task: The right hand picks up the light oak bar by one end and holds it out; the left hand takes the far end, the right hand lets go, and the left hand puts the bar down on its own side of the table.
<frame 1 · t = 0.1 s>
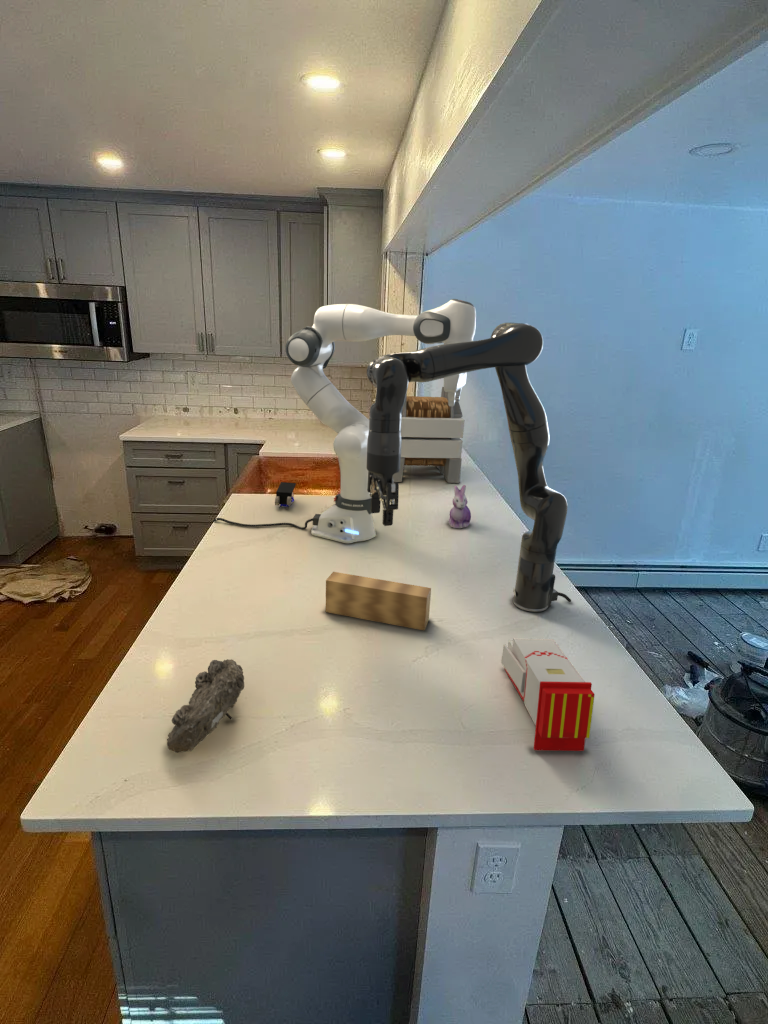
left hand: (453, 403, 174), 48 cm above the counter, tool pointing down, fingers open, 8 cm apart
right hand: (381, 518, 131), 29 cm above the counter, tool pointing down, fingers open, 8 cm apart
toy: (537, 702, 116), on the counter
fossil: (212, 717, 108), on the counter
figurine: (459, 524, 211), on the counter
bar: (376, 616, 146), on the counter
figurine character: (285, 505, 223), on the counter
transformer: (419, 473, 275), on the counter
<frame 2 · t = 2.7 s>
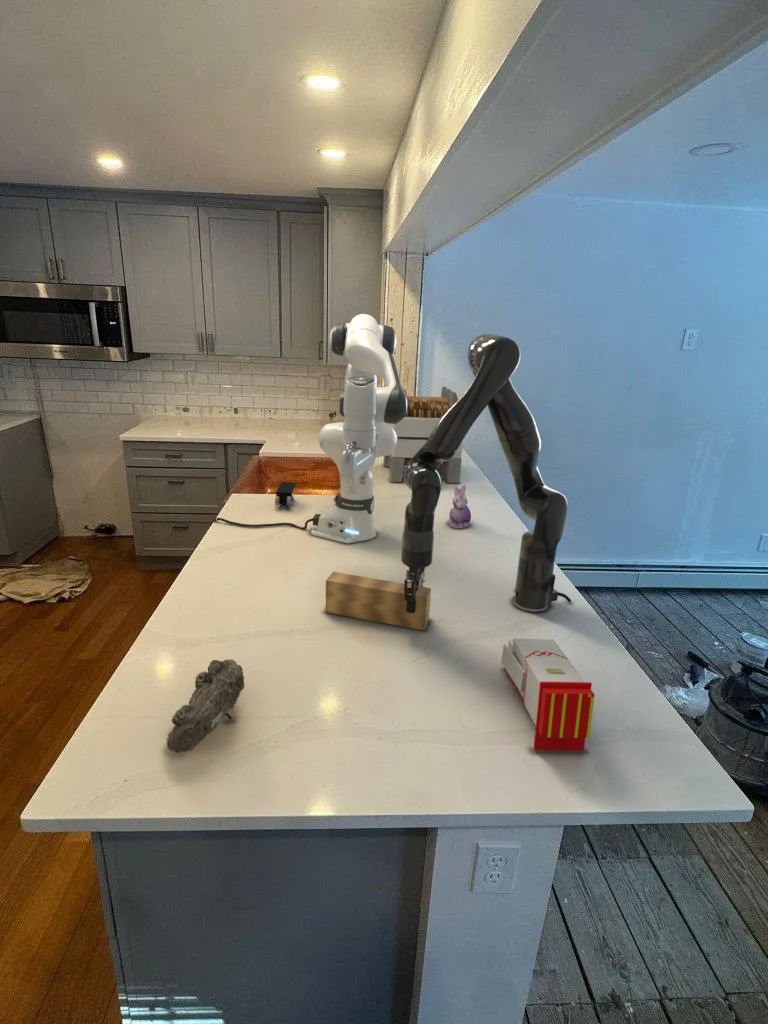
left hand: (357, 488, 156), 28 cm above the counter, tool pointing down, fingers open, 8 cm apart
right hand: (413, 606, 142), 5 cm above the counter, tool pointing down, fingers closed on bar, 5 cm apart
bar: (376, 616, 146), on the counter, touching right hand
everything else where it was.
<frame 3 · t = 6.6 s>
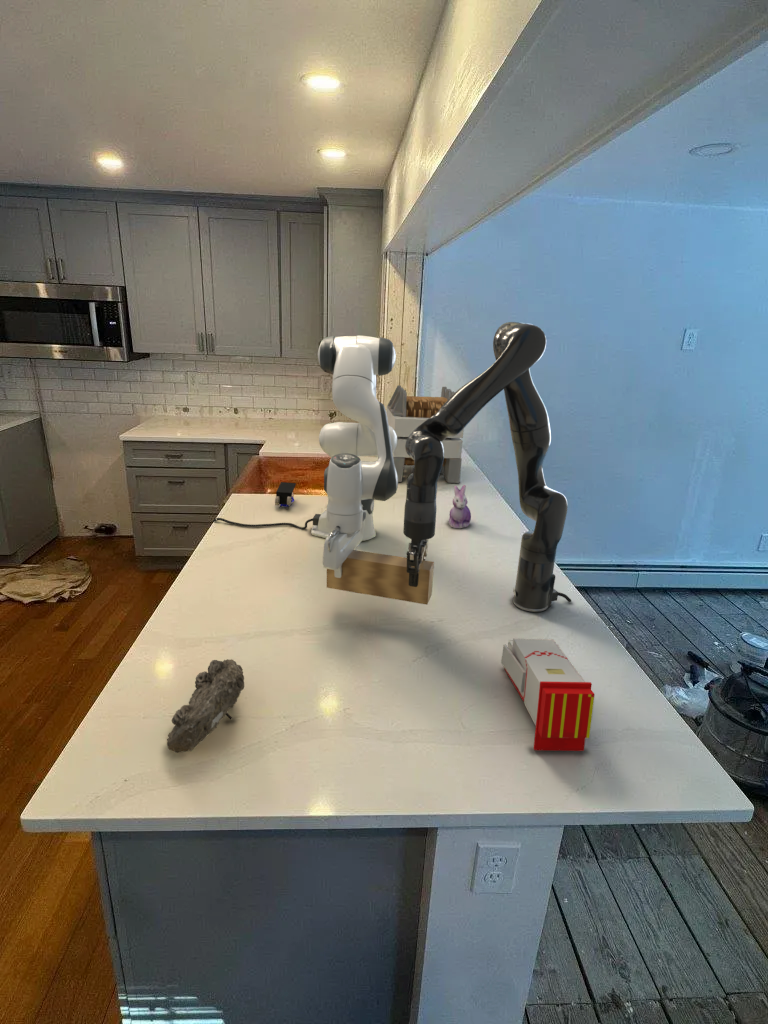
left hand: (343, 571, 145), 11 cm above the counter, tool pointing down, fingers closed on bar, 5 cm apart
right hand: (416, 580, 140), 12 cm above the counter, tool pointing down, fingers closed on bar, 5 cm apart
bar: (378, 591, 144), point 7 cm above the counter, touching left hand, right hand
everything else where it was.
when the right hand's fingers open (12 cm above the counter, at t = 7.6 s): bar stays where it is, held by the left hand.
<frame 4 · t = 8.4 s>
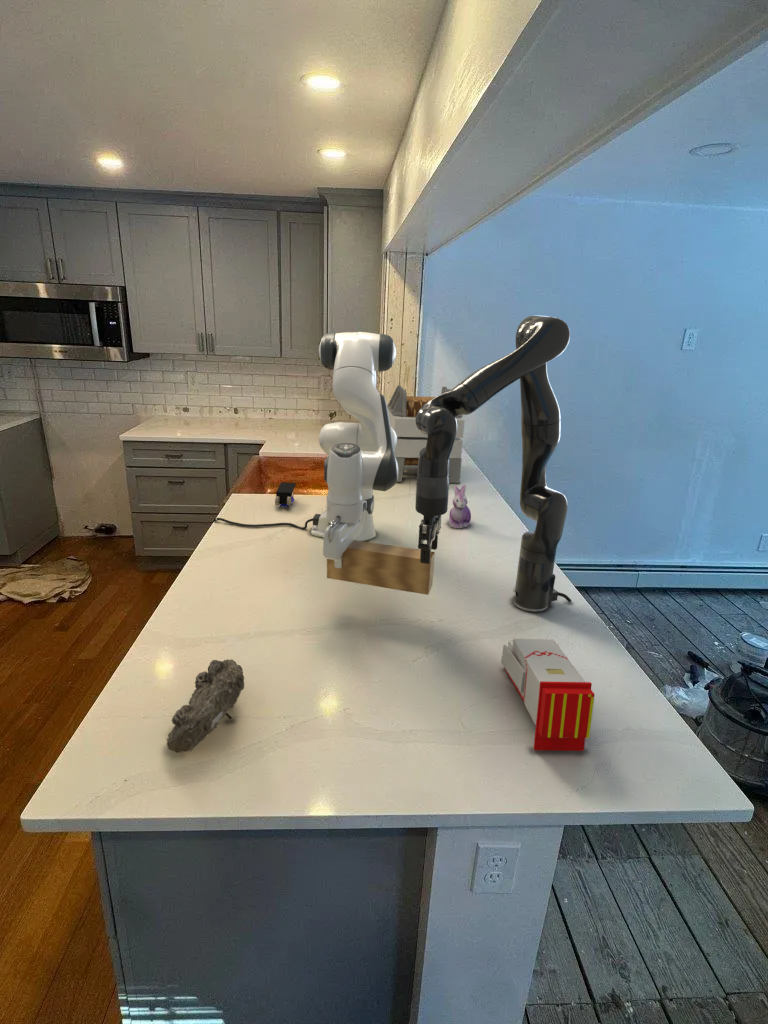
left hand: (343, 561, 144), 14 cm above the counter, tool pointing down, fingers closed on bar, 5 cm apart
right hand: (428, 555, 137), 19 cm above the counter, tool pointing down, fingers open, 8 cm apart
bar: (379, 581, 143), point 10 cm above the counter, touching left hand
everything else where it was.
when the left hand's fingers open (5 cm above the counter, at t = 12.0 s): bar stays where it is, on the counter.
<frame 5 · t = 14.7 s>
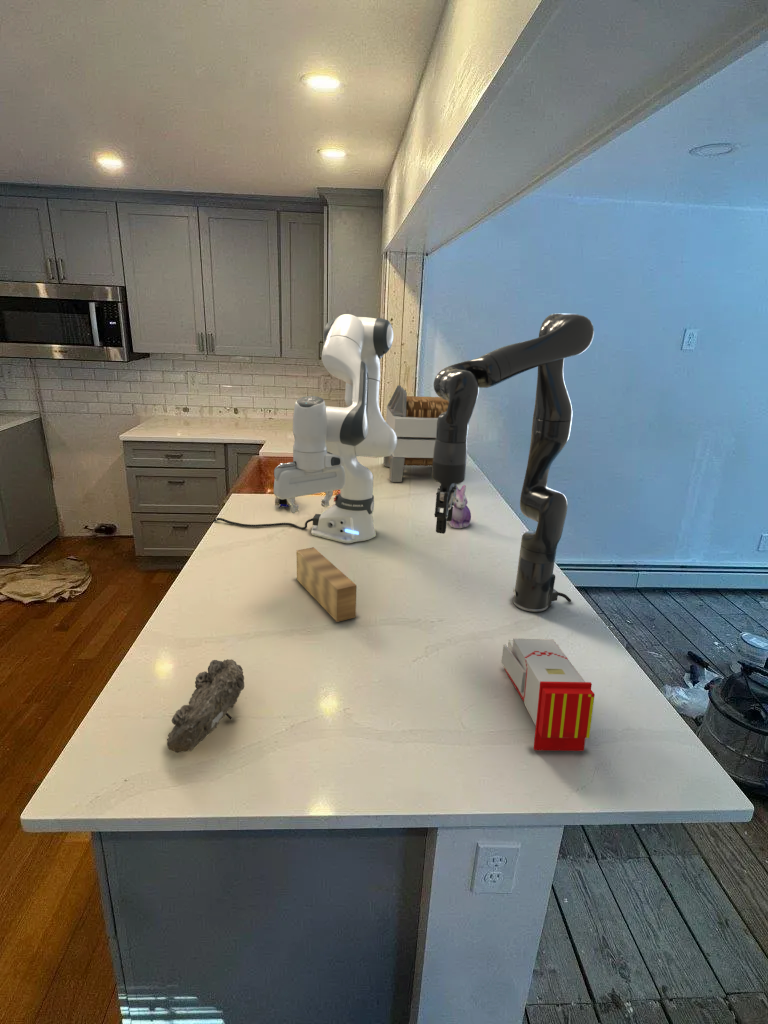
left hand: (310, 509, 154), 23 cm above the counter, tool pointing down, fingers open, 8 cm apart
right hand: (444, 526, 133), 27 cm above the counter, tool pointing down, fingers open, 8 cm apart
bar: (324, 597, 154), on the counter
everything else where it was.
at the end: bar inside the target area (9.3 cm from its centre), on the counter; the left hand is holding nothing; the right hand is holding nothing; bar at rest at the end (0.0 cm/s) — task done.
